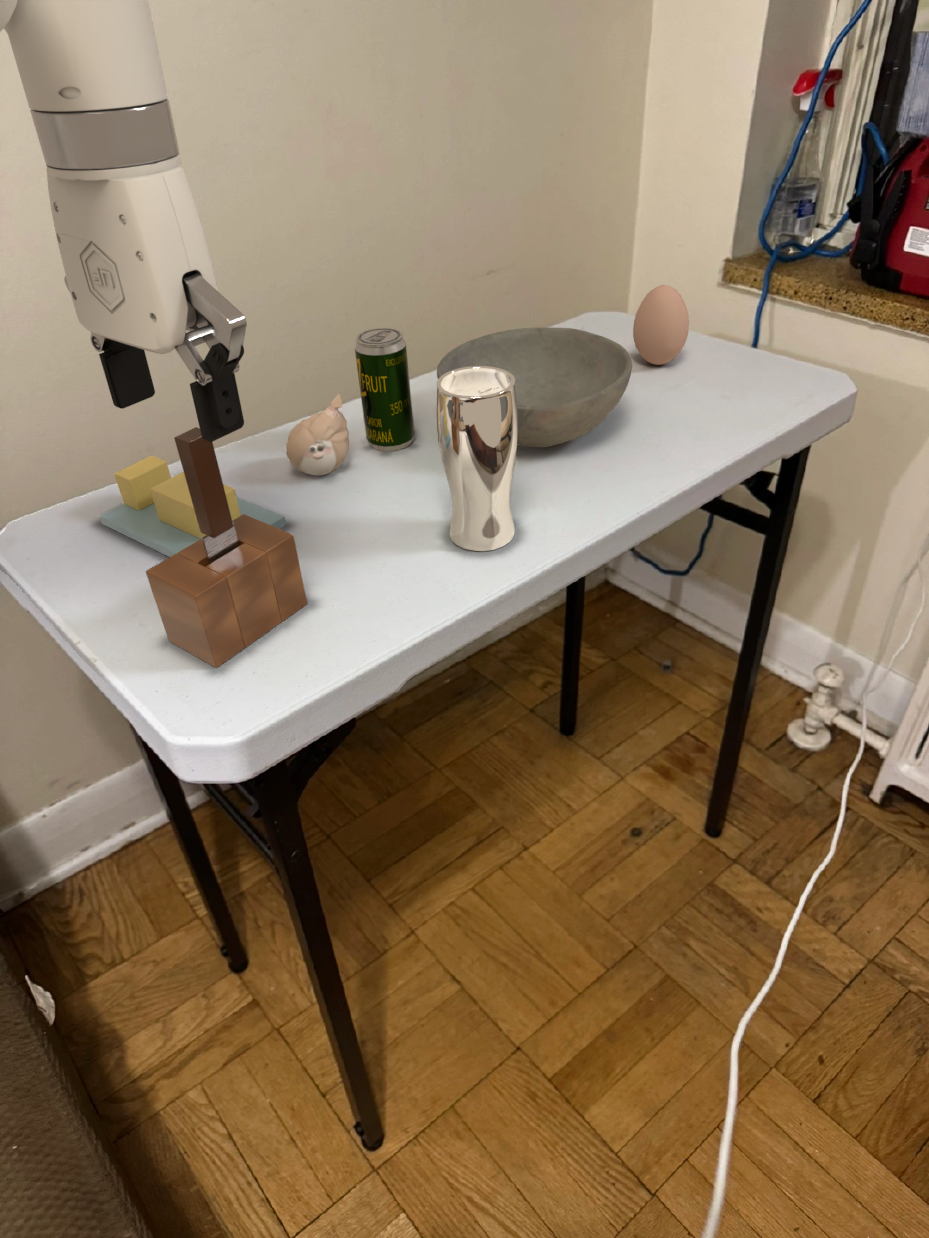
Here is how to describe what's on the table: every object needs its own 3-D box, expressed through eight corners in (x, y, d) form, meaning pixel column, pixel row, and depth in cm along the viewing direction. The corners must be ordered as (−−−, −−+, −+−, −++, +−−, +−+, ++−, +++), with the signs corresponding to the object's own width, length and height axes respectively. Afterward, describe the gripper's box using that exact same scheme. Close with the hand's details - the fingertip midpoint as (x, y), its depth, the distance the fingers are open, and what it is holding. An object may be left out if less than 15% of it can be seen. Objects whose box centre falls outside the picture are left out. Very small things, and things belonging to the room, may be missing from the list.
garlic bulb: (340, 486, 89) (329, 414, 85) (282, 483, 91) (268, 412, 86) (359, 457, 95) (350, 387, 90) (304, 454, 96) (292, 385, 91)
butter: (205, 541, 80) (196, 509, 78) (159, 520, 84) (149, 488, 82) (242, 520, 83) (234, 488, 81) (195, 500, 87) (187, 469, 85)
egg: (683, 375, 108) (692, 295, 102) (628, 372, 109) (634, 294, 103) (685, 354, 113) (694, 277, 107) (633, 352, 114) (638, 276, 108)
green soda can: (383, 427, 100) (371, 324, 93) (423, 435, 98) (414, 330, 91) (357, 447, 96) (343, 342, 89) (399, 456, 94) (387, 348, 87)
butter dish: (205, 574, 78) (203, 565, 77) (101, 524, 86) (98, 515, 85) (286, 525, 84) (284, 516, 83) (182, 482, 92) (179, 473, 91)
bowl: (667, 444, 93) (674, 373, 88) (495, 493, 87) (492, 419, 82) (566, 378, 109) (568, 314, 104) (413, 415, 102) (407, 349, 97)
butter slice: (139, 511, 86) (128, 480, 83) (123, 504, 87) (113, 473, 85) (175, 492, 88) (166, 461, 86) (160, 485, 90) (151, 455, 87)
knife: (234, 634, 71) (182, 445, 60) (221, 627, 72) (167, 440, 61) (261, 615, 73) (215, 429, 62) (248, 609, 74) (201, 424, 63)
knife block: (216, 668, 68) (194, 596, 63) (168, 641, 71) (144, 571, 66) (307, 604, 74) (293, 534, 69) (259, 581, 77) (243, 513, 72)
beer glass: (431, 544, 80) (418, 390, 71) (466, 508, 85) (458, 360, 76) (499, 561, 77) (494, 404, 68) (531, 523, 82) (531, 371, 73)
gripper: (-30, 140, 52) (60, 408, 62) (147, 164, 44) (217, 470, 54) (80, 123, 57) (147, 374, 67) (259, 141, 48) (303, 427, 59)
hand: (178, 417), depth 60 cm, fingers open, 9 cm apart
